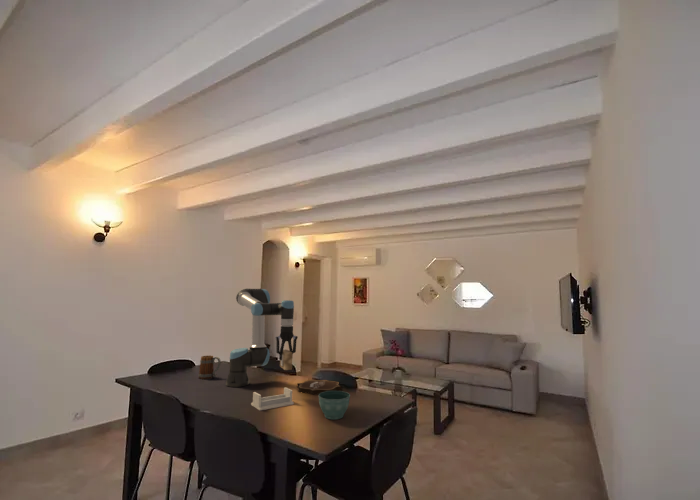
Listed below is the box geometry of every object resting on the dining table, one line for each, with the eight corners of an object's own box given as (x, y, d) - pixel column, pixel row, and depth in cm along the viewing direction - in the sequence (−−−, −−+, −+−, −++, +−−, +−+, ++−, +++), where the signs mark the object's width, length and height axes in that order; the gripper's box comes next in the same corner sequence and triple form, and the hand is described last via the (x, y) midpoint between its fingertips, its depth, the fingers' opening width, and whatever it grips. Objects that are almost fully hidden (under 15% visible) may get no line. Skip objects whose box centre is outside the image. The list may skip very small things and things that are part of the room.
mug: (195, 378, 266) (196, 357, 268) (203, 375, 276) (204, 354, 278) (215, 380, 263) (216, 358, 265) (222, 376, 274) (224, 355, 275)
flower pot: (324, 424, 179) (324, 400, 180) (313, 413, 193) (314, 392, 195) (354, 420, 185) (355, 397, 186) (342, 410, 200) (342, 389, 201)
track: (251, 404, 207) (251, 391, 208) (283, 399, 219) (284, 386, 219) (259, 410, 197) (260, 396, 198) (293, 404, 209) (293, 391, 210)
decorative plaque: (304, 378, 261) (346, 380, 255) (304, 382, 261) (346, 385, 255) (289, 388, 232) (336, 392, 226) (289, 393, 232) (335, 397, 226)
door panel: (285, 370, 218) (285, 352, 220) (279, 366, 229) (280, 349, 230) (291, 369, 220) (292, 352, 221) (286, 366, 231) (286, 349, 232)
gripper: (274, 326, 220) (273, 367, 218) (302, 326, 228) (301, 365, 225) (271, 325, 227) (270, 365, 224) (298, 324, 235) (297, 363, 232)
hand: (285, 365), depth 225 cm, fingers closed on door panel, 4 cm apart
